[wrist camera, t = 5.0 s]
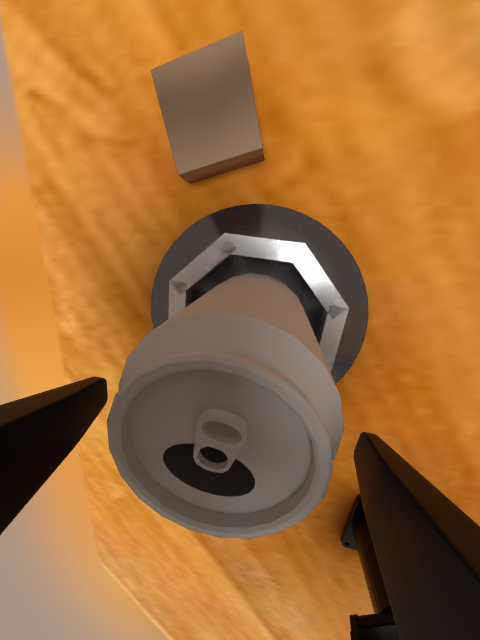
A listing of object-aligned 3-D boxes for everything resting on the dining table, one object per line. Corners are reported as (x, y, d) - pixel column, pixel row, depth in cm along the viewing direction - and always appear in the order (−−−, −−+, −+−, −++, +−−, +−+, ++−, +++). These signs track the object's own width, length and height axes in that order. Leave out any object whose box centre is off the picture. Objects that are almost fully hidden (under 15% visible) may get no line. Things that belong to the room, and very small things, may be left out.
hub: (333, 425, 20) (339, 443, 18) (153, 389, 21) (142, 402, 20) (398, 220, 15) (415, 217, 13) (154, 192, 16) (139, 186, 14)
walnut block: (264, 160, 15) (262, 147, 13) (189, 183, 16) (178, 174, 14) (247, 60, 13) (242, 30, 11) (167, 92, 14) (150, 69, 12)
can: (195, 350, 19) (73, 509, 8) (217, 258, 16) (85, 289, 5) (284, 380, 19) (297, 593, 7) (321, 290, 16) (429, 399, 5)
